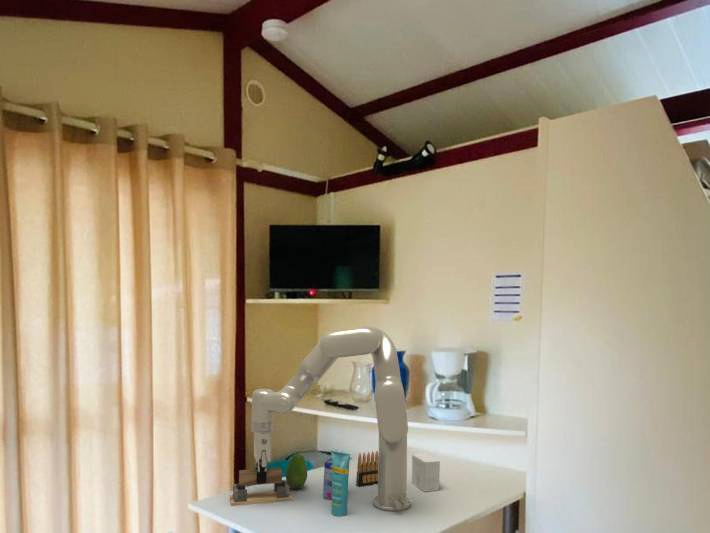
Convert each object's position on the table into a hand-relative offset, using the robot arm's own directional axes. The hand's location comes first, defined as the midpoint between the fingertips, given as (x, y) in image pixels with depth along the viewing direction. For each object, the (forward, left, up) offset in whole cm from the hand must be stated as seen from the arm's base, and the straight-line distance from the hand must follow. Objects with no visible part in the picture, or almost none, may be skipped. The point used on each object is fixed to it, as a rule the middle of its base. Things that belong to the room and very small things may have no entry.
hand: (260, 480), depth 183 cm
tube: (-19, -23, -6) cm, 30 cm away
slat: (0, 0, -1) cm, 1 cm away
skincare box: (-3, -60, -6) cm, 60 cm away
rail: (0, 0, -6) cm, 6 cm away
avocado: (+7, -14, -6) cm, 17 cm away
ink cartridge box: (-3, -26, -6) cm, 27 cm away
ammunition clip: (+4, -41, -6) cm, 41 cm away
